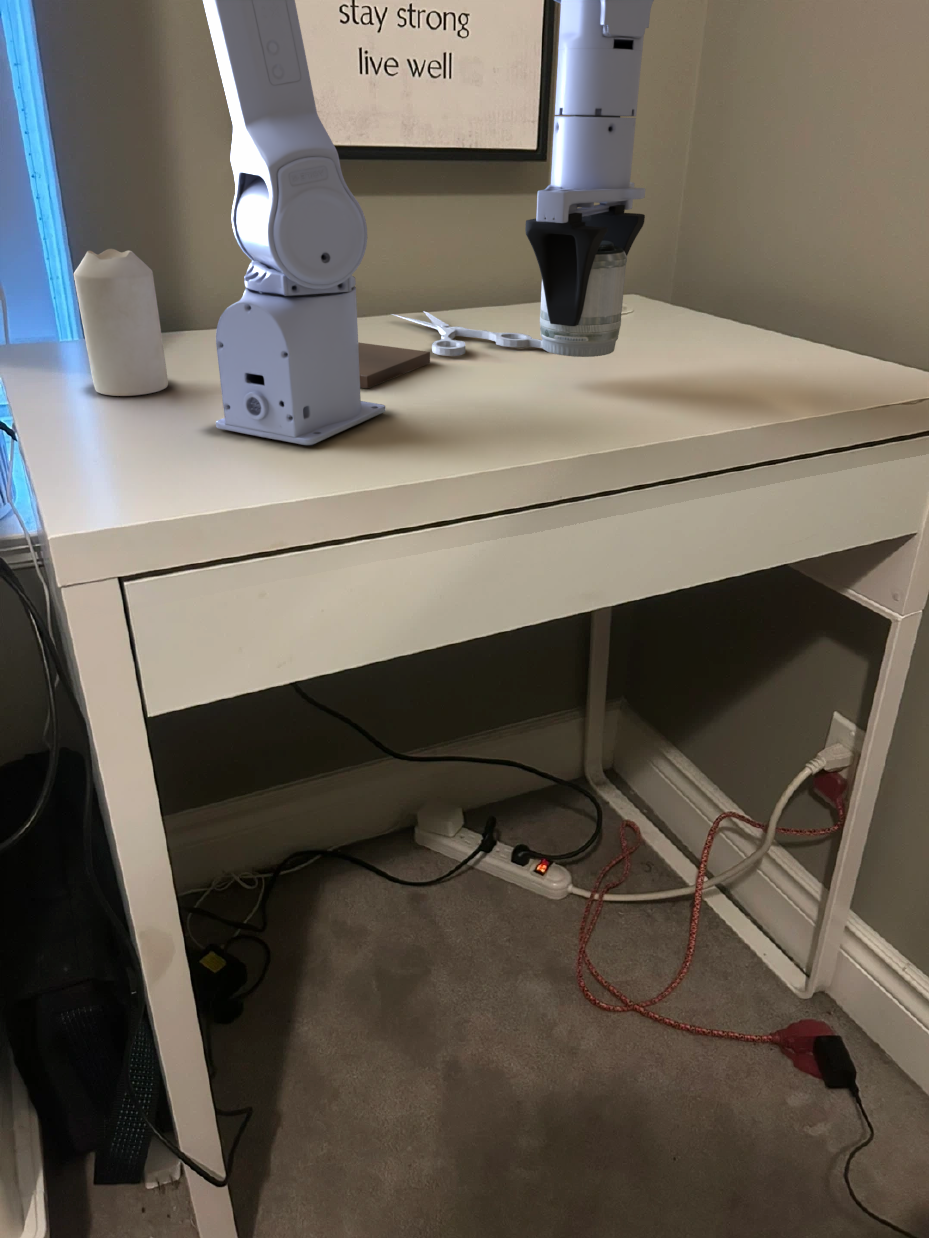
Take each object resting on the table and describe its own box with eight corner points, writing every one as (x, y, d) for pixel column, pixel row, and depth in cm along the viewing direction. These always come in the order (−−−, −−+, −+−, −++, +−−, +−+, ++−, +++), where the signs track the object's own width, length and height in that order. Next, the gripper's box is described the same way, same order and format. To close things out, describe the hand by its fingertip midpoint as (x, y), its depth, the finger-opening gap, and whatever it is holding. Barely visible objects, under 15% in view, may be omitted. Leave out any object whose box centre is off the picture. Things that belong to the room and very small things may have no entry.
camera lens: (546, 338, 76) (552, 235, 72) (623, 344, 74) (633, 239, 70) (530, 354, 70) (535, 244, 67) (612, 361, 69) (622, 248, 65)
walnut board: (367, 388, 72) (367, 376, 72) (266, 373, 76) (265, 361, 76) (430, 363, 80) (430, 351, 80) (335, 350, 84) (334, 339, 84)
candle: (91, 399, 69) (65, 256, 64) (97, 381, 73) (73, 246, 69) (168, 394, 70) (148, 254, 65) (168, 377, 75) (150, 245, 70)
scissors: (450, 352, 80) (359, 312, 95) (450, 361, 80) (359, 320, 95) (552, 341, 84) (449, 305, 100) (551, 350, 85) (449, 312, 100)
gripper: (614, 116, 57) (596, 339, 64) (679, 119, 69) (658, 308, 75) (512, 115, 60) (504, 328, 67) (591, 118, 71) (577, 300, 78)
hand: (580, 317), depth 71 cm, fingers closed on camera lens, 6 cm apart
